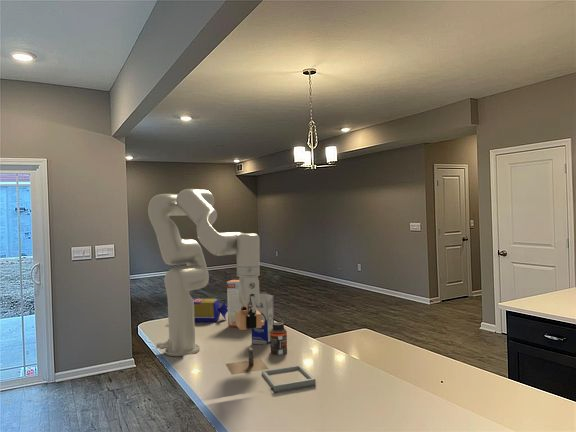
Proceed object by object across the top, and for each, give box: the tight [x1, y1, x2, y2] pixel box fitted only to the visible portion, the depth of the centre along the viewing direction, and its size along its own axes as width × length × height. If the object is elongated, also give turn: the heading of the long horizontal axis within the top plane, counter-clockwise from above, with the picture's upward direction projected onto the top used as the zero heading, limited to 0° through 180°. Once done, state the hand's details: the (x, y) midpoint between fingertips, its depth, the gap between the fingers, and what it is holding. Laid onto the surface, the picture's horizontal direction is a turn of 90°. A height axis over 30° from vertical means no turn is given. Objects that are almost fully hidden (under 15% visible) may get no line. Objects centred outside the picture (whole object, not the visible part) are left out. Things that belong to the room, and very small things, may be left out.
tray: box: [261, 364, 317, 394], centre depth 124 cm, size 13×13×2 cm
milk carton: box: [251, 291, 275, 346], centre depth 164 cm, size 7×7×20 cm
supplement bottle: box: [269, 321, 288, 356], centre depth 148 cm, size 6×6×11 cm
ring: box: [236, 310, 264, 331], centre depth 136 cm, size 9×7×4 cm
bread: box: [192, 298, 228, 323], centre depth 204 cm, size 10×25×10 cm, turn 84°
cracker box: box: [226, 279, 261, 328], centre depth 190 cm, size 14×6×21 cm, turn 71°
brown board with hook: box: [225, 346, 270, 375], centre depth 135 cm, size 12×10×6 cm
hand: (248, 324), depth 136 cm, fingers closed on ring, 7 cm apart
